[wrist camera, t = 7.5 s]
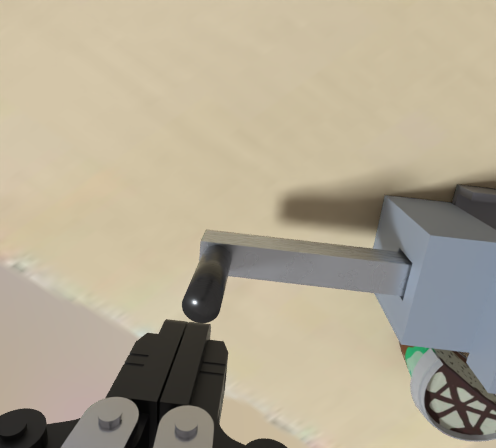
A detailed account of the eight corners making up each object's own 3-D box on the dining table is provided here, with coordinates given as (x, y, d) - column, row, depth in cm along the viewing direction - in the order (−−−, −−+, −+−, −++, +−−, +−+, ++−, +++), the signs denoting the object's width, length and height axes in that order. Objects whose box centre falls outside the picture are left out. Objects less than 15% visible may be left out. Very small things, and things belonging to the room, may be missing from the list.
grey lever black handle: (206, 229, 36) (180, 284, 26) (475, 260, 36) (559, 328, 25) (204, 258, 37) (178, 322, 27) (466, 289, 37) (543, 366, 26)
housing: (386, 186, 42) (454, 239, 26) (452, 193, 41) (559, 251, 26) (364, 286, 45) (412, 383, 30) (424, 293, 45) (503, 394, 30)
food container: (366, 339, 48) (390, 399, 38) (404, 306, 46) (438, 361, 36) (436, 394, 50) (475, 464, 40) (474, 364, 48) (525, 430, 38)
